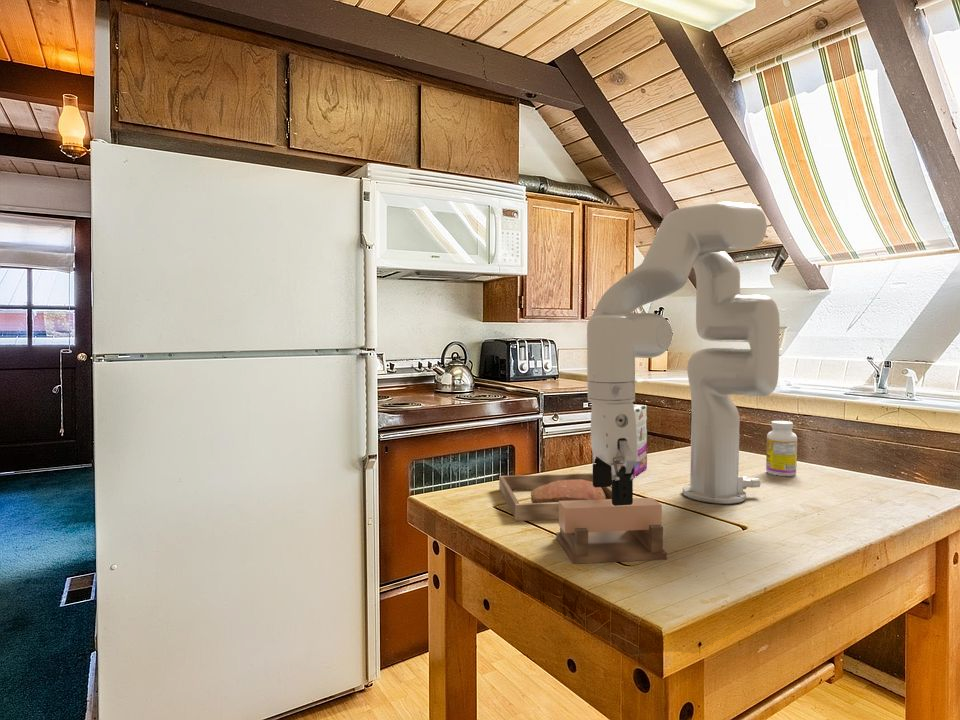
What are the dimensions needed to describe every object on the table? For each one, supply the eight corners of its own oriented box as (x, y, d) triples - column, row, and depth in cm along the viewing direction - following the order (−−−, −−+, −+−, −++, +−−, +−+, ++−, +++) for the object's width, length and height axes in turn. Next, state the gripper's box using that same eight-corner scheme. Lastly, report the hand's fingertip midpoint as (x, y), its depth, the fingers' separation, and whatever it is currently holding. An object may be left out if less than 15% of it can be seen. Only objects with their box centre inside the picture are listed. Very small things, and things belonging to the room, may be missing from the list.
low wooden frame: (593, 486, 134) (593, 473, 134) (627, 516, 112) (627, 500, 112) (499, 489, 131) (499, 475, 131) (515, 520, 110) (515, 505, 110)
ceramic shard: (533, 470, 128) (601, 481, 127) (528, 499, 128) (597, 511, 127) (533, 478, 114) (611, 491, 112) (528, 511, 113) (606, 525, 112)
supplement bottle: (768, 469, 149) (769, 419, 148) (798, 472, 145) (799, 421, 144) (763, 474, 144) (764, 422, 143) (794, 478, 140) (795, 425, 139)
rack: (640, 534, 102) (640, 506, 102) (667, 559, 92) (667, 527, 91) (556, 538, 101) (556, 509, 101) (573, 563, 90) (573, 531, 90)
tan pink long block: (651, 521, 99) (651, 497, 99) (661, 529, 95) (661, 504, 95) (558, 524, 97) (558, 501, 97) (564, 533, 93) (564, 508, 93)
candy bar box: (628, 466, 152) (628, 403, 151) (647, 468, 150) (648, 405, 149) (613, 475, 143) (614, 408, 142) (633, 478, 140) (634, 410, 139)
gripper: (655, 398, 87) (655, 511, 88) (615, 384, 104) (615, 479, 105) (606, 400, 86) (606, 514, 87) (574, 386, 103) (575, 481, 104)
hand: (611, 495), depth 96 cm, fingers open, 9 cm apart
